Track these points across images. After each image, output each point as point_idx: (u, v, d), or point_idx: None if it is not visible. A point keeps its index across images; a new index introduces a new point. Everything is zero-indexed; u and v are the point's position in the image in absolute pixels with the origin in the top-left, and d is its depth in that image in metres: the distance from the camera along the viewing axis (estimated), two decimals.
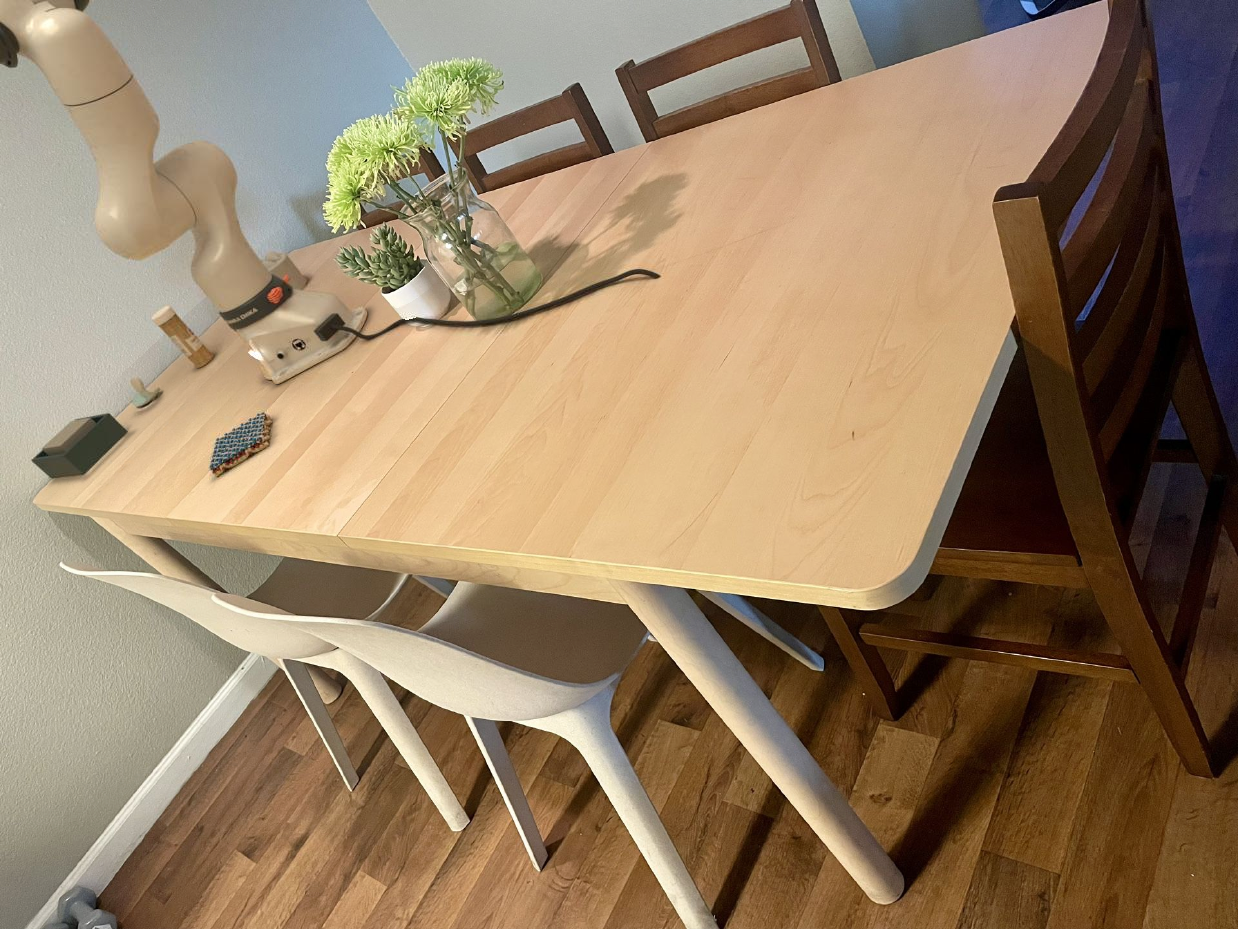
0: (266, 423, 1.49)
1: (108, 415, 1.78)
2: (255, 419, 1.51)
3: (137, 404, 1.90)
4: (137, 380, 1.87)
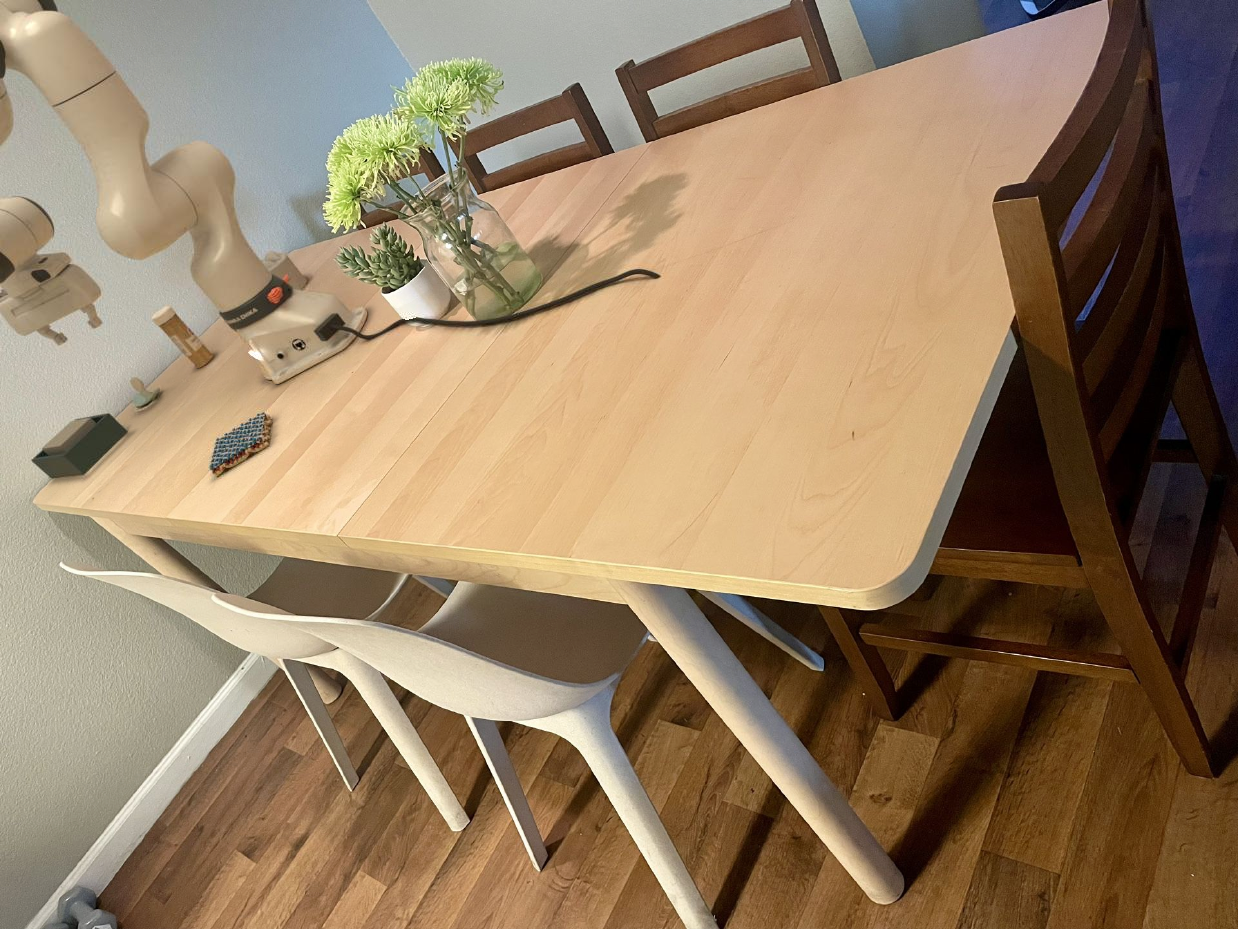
0: (266, 423, 1.49)
1: (108, 415, 1.78)
2: (255, 419, 1.51)
3: (137, 404, 1.90)
4: (137, 380, 1.87)
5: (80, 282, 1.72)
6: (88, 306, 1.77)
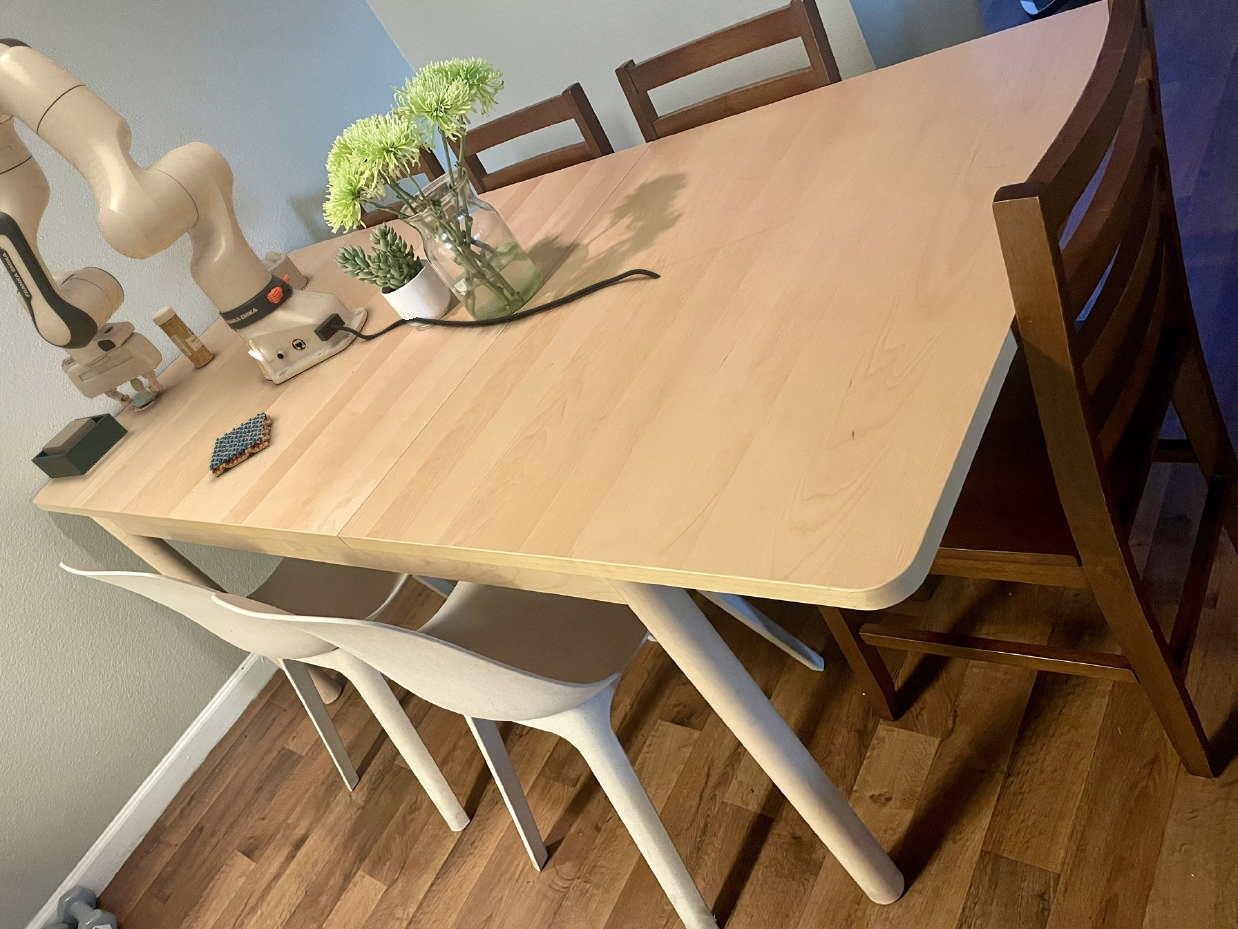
0: (266, 423, 1.49)
1: (108, 415, 1.78)
2: (255, 419, 1.51)
3: (137, 404, 1.90)
4: (137, 380, 1.87)
5: (143, 350, 1.80)
6: (148, 372, 1.85)
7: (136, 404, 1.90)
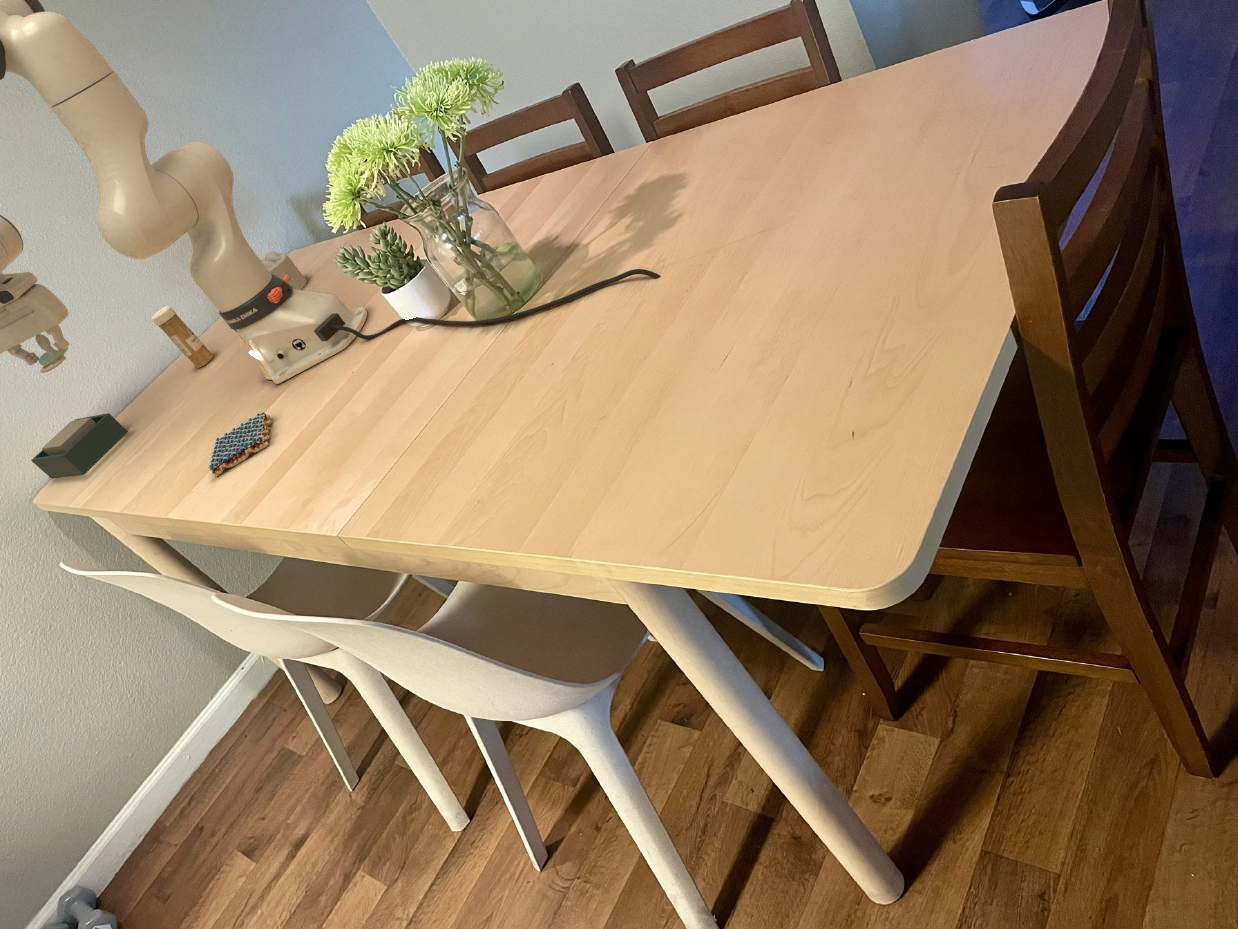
0: (266, 423, 1.49)
1: (108, 415, 1.78)
2: (255, 419, 1.51)
3: (43, 363, 1.76)
4: (42, 337, 1.74)
5: (44, 303, 1.67)
6: (53, 328, 1.71)
7: (42, 363, 1.77)
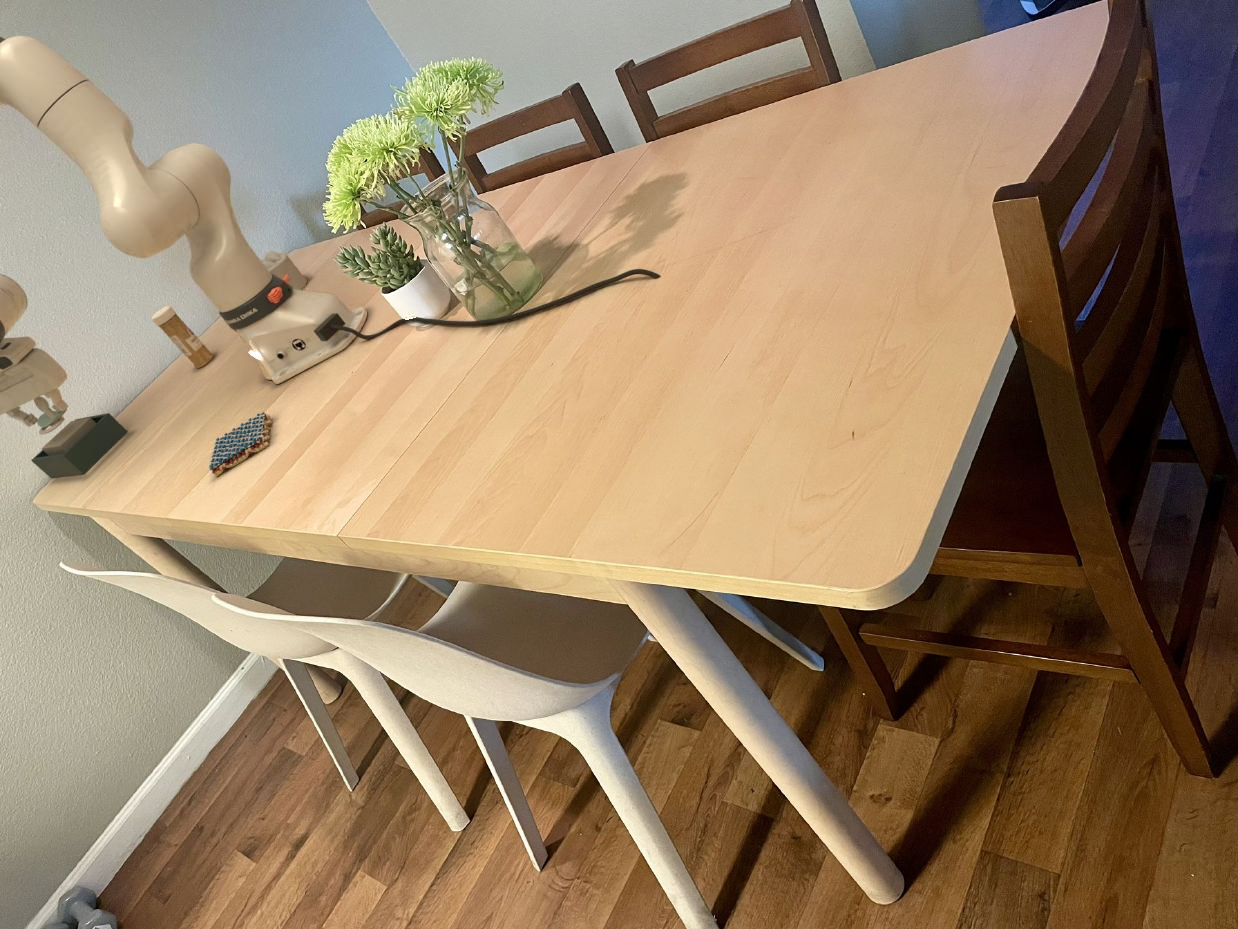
0: (266, 423, 1.49)
1: (108, 415, 1.78)
2: (255, 419, 1.51)
3: (42, 425, 1.76)
4: (41, 399, 1.74)
5: (43, 368, 1.67)
6: (52, 391, 1.71)
7: (41, 424, 1.76)
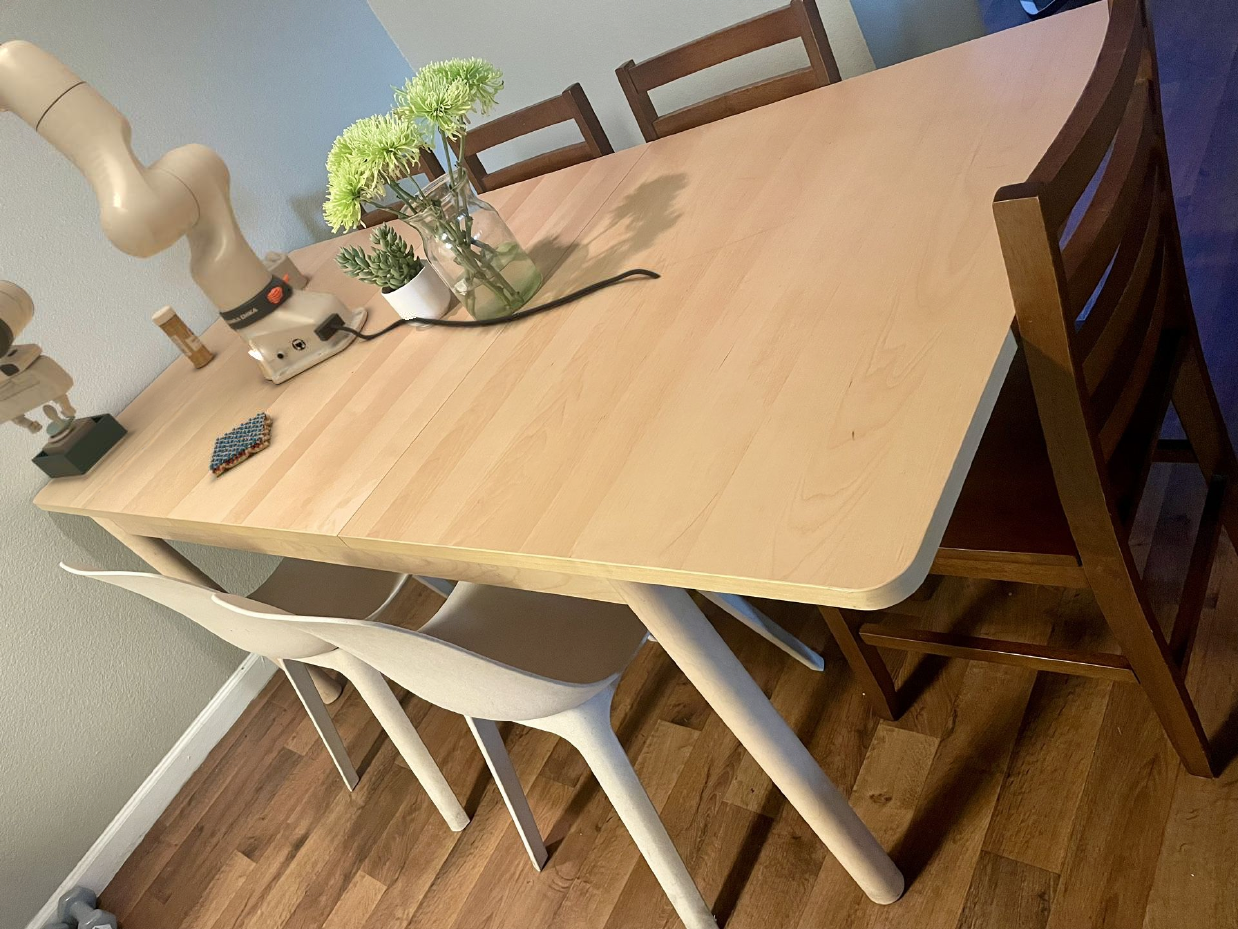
0: (266, 423, 1.49)
1: (108, 415, 1.78)
2: (255, 419, 1.51)
3: (50, 433, 1.77)
4: (49, 407, 1.75)
5: (50, 375, 1.68)
6: (60, 397, 1.72)
7: (50, 432, 1.78)
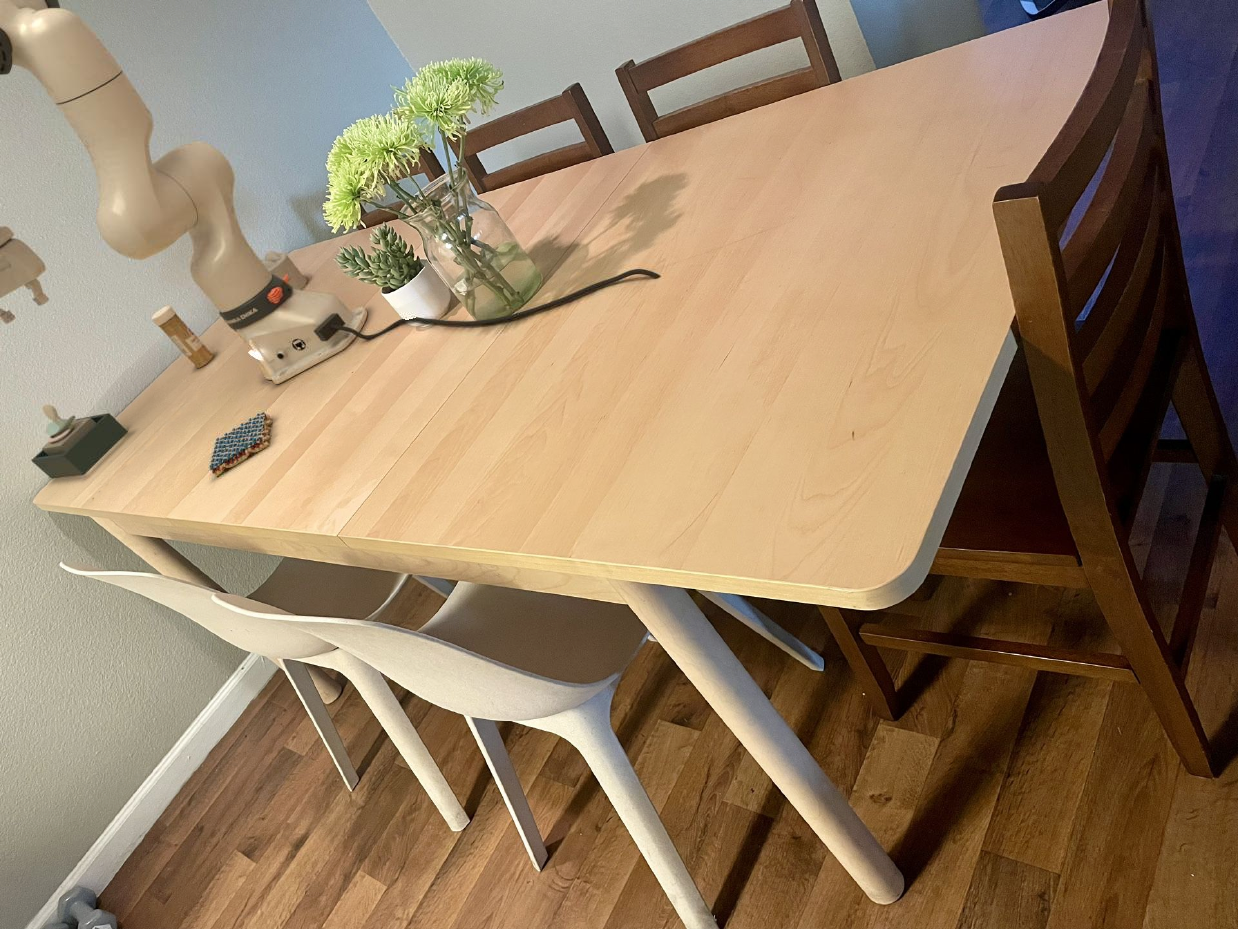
0: (266, 423, 1.49)
1: (108, 415, 1.78)
2: (255, 419, 1.51)
3: (50, 433, 1.77)
4: (49, 407, 1.75)
5: (21, 257, 1.67)
6: (32, 282, 1.71)
7: (50, 432, 1.78)
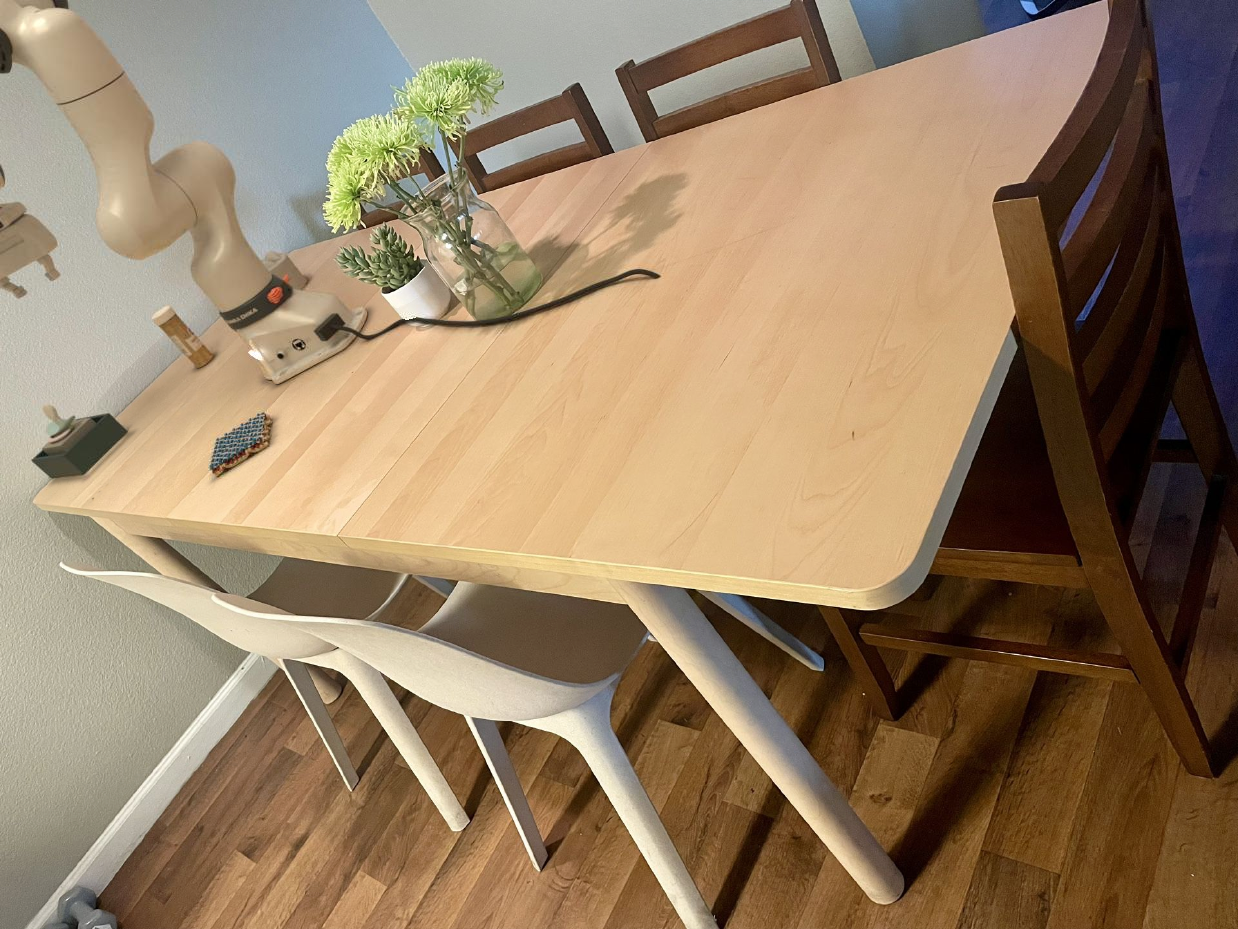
0: (266, 423, 1.49)
1: (108, 415, 1.78)
2: (255, 419, 1.51)
3: (50, 433, 1.77)
4: (49, 407, 1.75)
5: (34, 232, 1.69)
6: (44, 257, 1.74)
7: (50, 432, 1.78)
